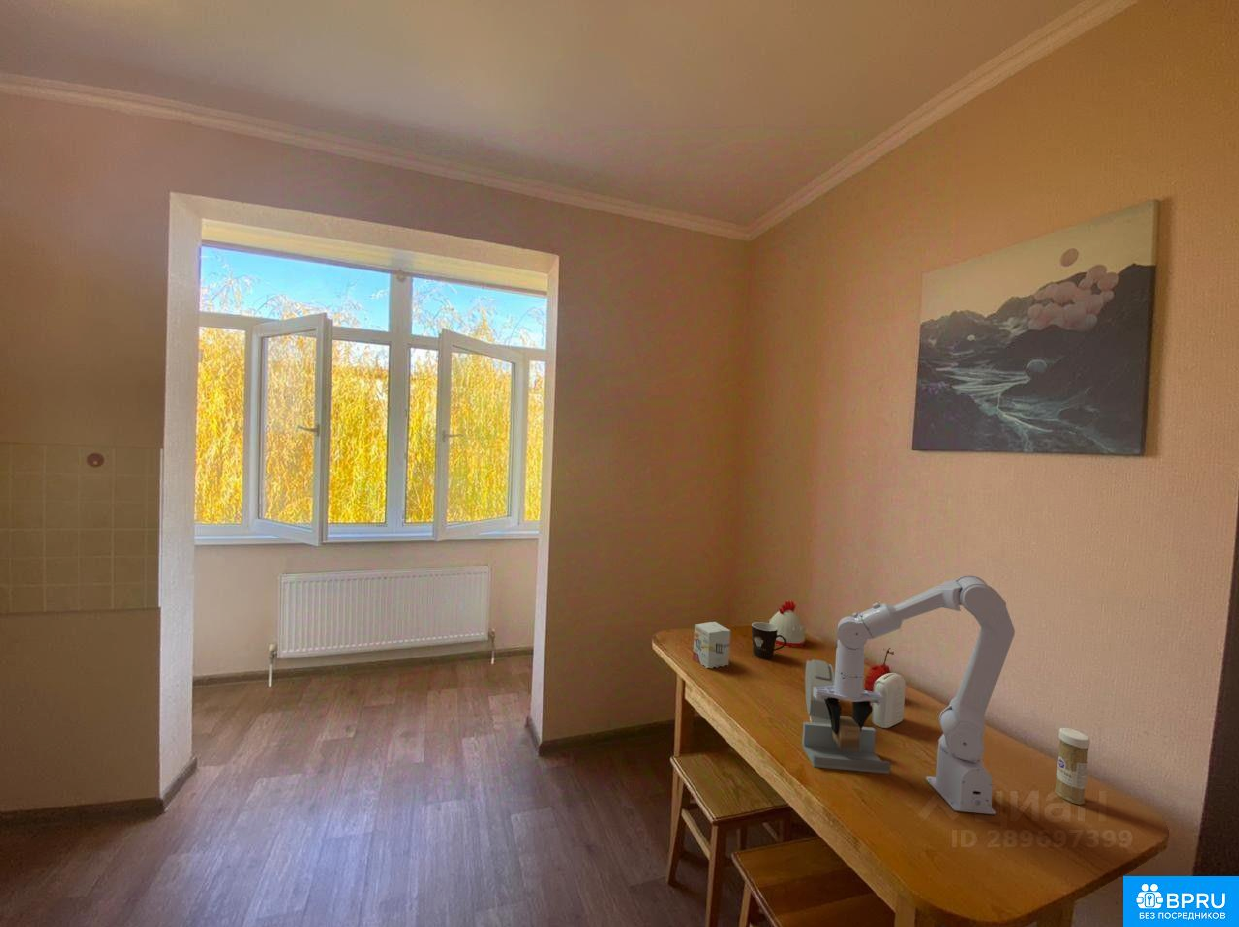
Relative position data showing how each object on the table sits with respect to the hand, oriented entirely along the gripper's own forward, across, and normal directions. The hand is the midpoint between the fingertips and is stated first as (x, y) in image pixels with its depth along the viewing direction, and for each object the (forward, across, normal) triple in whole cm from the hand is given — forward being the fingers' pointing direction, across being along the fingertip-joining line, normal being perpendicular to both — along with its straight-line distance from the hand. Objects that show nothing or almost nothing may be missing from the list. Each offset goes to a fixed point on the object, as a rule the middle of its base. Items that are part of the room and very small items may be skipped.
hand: (845, 732), depth 106 cm
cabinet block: (+2, 0, 0) cm, 2 cm away
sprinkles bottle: (+6, -43, +7) cm, 44 cm away
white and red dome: (+6, -9, -73) cm, 74 cm away
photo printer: (+6, -19, -18) cm, 27 cm away
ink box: (+6, +23, -47) cm, 53 cm away
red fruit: (+6, -24, -33) cm, 42 cm away
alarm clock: (+6, -2, -20) cm, 21 cm away
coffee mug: (+6, +3, -55) cm, 56 cm away
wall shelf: (+6, 0, 0) cm, 6 cm away
